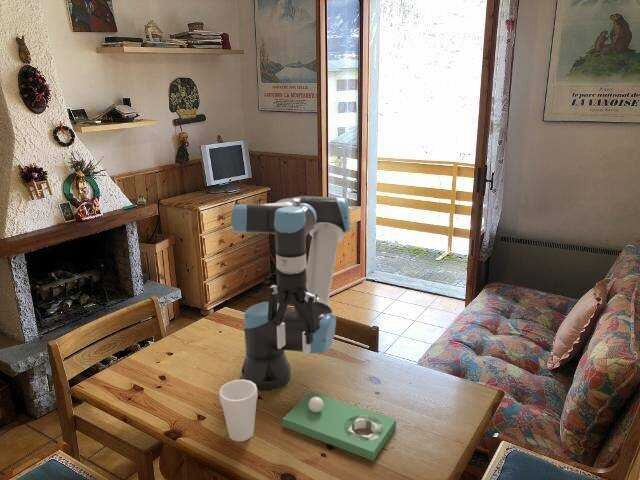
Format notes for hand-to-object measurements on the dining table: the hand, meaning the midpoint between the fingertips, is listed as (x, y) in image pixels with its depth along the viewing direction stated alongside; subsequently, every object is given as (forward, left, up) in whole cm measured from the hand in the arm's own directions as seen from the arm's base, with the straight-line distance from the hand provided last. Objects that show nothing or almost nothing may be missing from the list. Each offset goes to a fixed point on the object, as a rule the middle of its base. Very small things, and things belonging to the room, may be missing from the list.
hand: (294, 350), depth 137 cm
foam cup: (-7, -15, -19) cm, 25 cm away
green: (+14, 0, -19) cm, 23 cm away
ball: (+7, 0, -15) cm, 16 cm away
